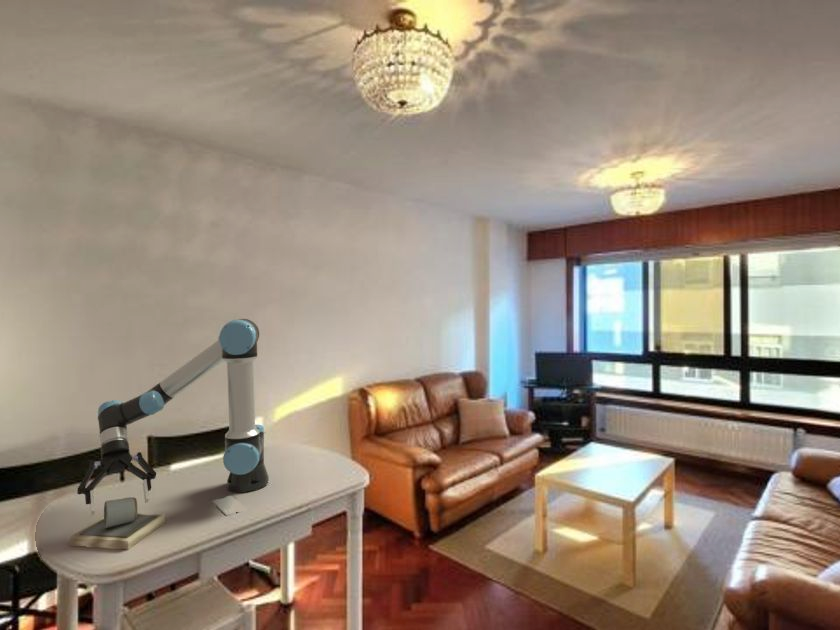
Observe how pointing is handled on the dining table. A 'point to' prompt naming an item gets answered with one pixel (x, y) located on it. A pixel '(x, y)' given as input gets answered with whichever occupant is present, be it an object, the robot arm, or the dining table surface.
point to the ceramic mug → (120, 511)
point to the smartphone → (225, 503)
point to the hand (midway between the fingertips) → (120, 506)
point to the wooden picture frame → (118, 533)
